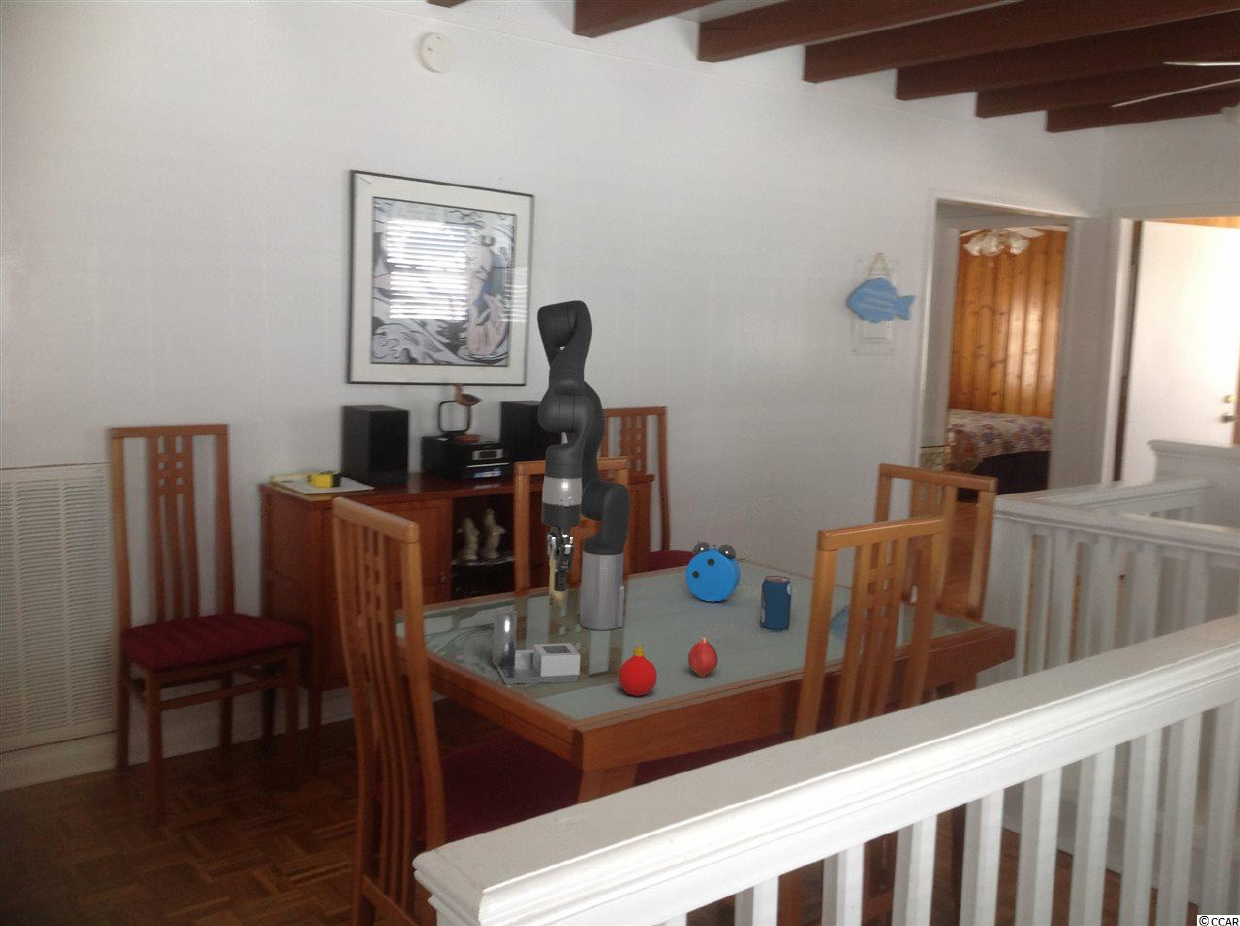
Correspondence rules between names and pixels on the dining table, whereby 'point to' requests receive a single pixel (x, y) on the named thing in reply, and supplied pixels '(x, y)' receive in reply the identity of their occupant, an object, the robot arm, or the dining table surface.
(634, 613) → the dining table surface
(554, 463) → the robot arm
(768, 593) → the soda can
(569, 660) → the grey desk organizer
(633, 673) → the christmas ornament
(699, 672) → the onion
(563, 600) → the gold cylinder
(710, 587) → the alarm clock
